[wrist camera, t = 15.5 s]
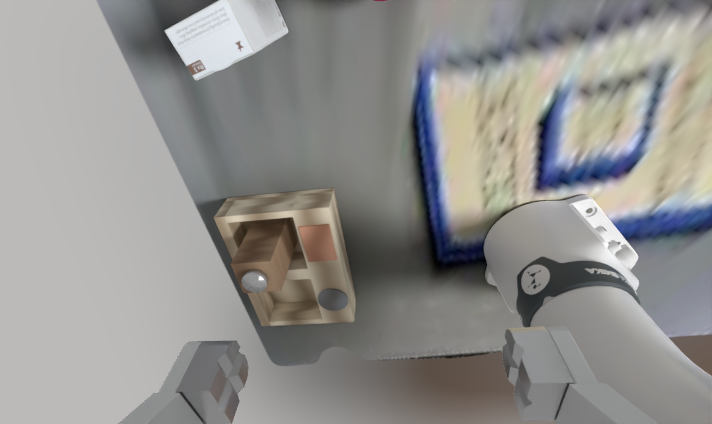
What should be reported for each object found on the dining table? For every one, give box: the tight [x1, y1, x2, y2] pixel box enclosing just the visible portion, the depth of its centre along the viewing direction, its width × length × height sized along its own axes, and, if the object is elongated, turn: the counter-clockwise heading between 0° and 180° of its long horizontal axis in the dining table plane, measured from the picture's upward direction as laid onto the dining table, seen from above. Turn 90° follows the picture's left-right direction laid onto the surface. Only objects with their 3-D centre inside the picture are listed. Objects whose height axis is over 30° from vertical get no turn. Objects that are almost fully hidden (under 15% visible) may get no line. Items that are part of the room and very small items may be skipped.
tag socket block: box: [214, 188, 356, 326], centre depth 51 cm, size 16×22×5 cm
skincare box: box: [164, 0, 288, 80], centre depth 31 cm, size 6×4×12 cm
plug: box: [230, 217, 297, 293], centre depth 45 cm, size 5×5×11 cm
